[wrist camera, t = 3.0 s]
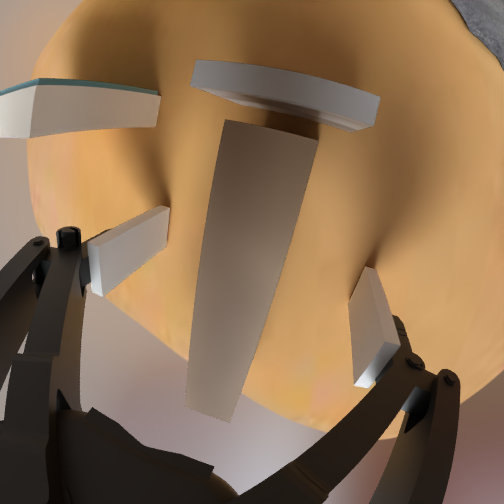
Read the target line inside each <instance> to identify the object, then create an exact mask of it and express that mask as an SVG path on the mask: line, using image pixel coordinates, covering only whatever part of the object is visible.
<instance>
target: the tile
mask: <svg viewBox="0 0 504 504" xmlns="http://www.w3.org/2000/svg"><path fill="white" fill-rule="evenodd" d="M161 97H162V96H158V91H155V90H150V89H145V88H139V87H133V86H127V85H120V84H113V83H105V82H97V81H87V80H74V79H55V78H38V79H35V80H31V81H28V82H25V83H22V84H19V85H16V86H13V87H10V88H8V89H5V90H2V91H0V138H34V137H40V136H46V135H53V134H60V133H67V132H76V131H86V130H97V129H112V128H136V127H156V123H157V118H158V112H159V107H160V102H161Z"/></svg>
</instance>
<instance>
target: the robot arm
mask: <svg viewBox="0 0 504 504" xmlns="http://www.w3.org/2000/svg"><path fill="white" fill-rule="evenodd" d="M169 214H170V208H169V207H165V206H162V205H159V206H157V207H155V208H153V209H151V210H149V211H147V212H144V213H142V214H140V215H138V216H136V217H134V218H132V219H130V220H128V221H126V222H124V223H122V224H120V225H119V226H117V227H115V228H112V229H108V230H105V231H103V232H101V233H100V234H98V235H96V236H95V237H92V238H90V239H88V240H87V241H85V242H83V243H81V230H80V229H79V228H77V227H72V226H69V227H64V228H61V229H59V230H58V231H57V232H56V236H57V245H58V248H53V247H50V242H49V239H48V238H47V237H41V236H39V237H35V238H33V239H31V240H30V241H29V242H28V243H27V244H26V245H25V246H24V247H23V248H22V249H21V250H20V251H19V252H18V253H17V254H16V255H15V256H14V257H13V258H12V259H11V260H10V261H9V262H8V263H7V264H6V265H5V266H4V267H3V268H2V270H1V271H0V390H1V388H2V386H3V383H4V381H5V379H6V376H7V374H8V372H9V369H10V367H11V365H12V367H11V373H10V378H9V384H8V391H7V398H6V406H5V417H4V420H2V421H0V504H322V503H323V502H324V501H325V500H326V499H327V498H328V494H329V492H331V491H332V490H333V489H334V488H335V486H337V485H338V484H339V483H340V482H341V481H342V480H343V479H344V478H345V477H346V476H347V475H348V473H350V471H351V470H352V469H353V468H354V467H355V466H356V465H357V464H358V463H359V462H360V461H361V459H362V458H363V457H364V456H365V455H366V454H367V452H368V451H369V450H370V449H371V448H372V447H373V445H374V444H375V443H376V441H377V440H378V439H379V438H380V437H381V435H382V434H383V433H384V431H385V430H386V429H387V428H388V426H389V425H390V423H391V422H392V421H393V419H394V418H395V417H396V415H397V414H398V412H399V411H400V409H401V410H403V411H405V415H404V419H403V422H402V425H401V428H400V431H399V434H398V437H397V440H396V443H395V446H394V448H393V451H392V453H391V456H390V459H389V461H388V463H387V466H386V468H385V471H384V473H383V475H382V477H381V480H380V482H379V484H378V486H377V488H376V490H375V492H374V494H373V496H372V498H371V500H370V502H369V504H442V502H443V499H444V495H445V492H446V488H447V484H448V479H449V476H450V472H451V467H452V462H453V455H454V450H455V444H456V437H457V429H458V420H459V407H460V380H459V378H458V376H457V375H456V374H455V373H454V372H452V371H451V370H448V369H442V370H441V371H440V372H439V373H438V374H437V375H435V374H433V373H431V372H429V371H427V370H425V364H424V362H423V360H422V359H421V358H420V357H419V356H418V355H417V354H415V353H413V352H412V349H411V346H410V343H409V339H408V337H407V333H406V331H405V327H404V324H403V322H402V321H401V320H400V319H399V317H398V316H394V315H392V314H391V311H390V307H389V304H388V301H387V298H386V295H385V292H384V290H383V287H382V284H381V281H380V278H379V275H378V273H377V270H376V269H373V268H370V267H366V266H365V267H364V270H363V272H362V274H361V276H360V279H359V281H358V283H357V285H356V288H355V290H354V292H353V294H352V296H351V298H350V300H349V303H348V310H349V319H350V330H351V343H352V358H353V377H354V386H359V387H364V388H369V387H370V386H371V385H372V384H373V382H374V381H376V385H375V386H374V387H373V388H372V389H371V391H370V392H369V393H368V394H367V395H366V396H365V397H364V398H363V399H362V400H361V401H360V402H359V403H358V404H357V405H356V406H355V407H354V408H353V409H352V410H351V411H350V412H349V413H348V414H347V415H346V416H345V417H344V418H343V419H342V420H341V421H340V422H339V423H338V424H337V425H336V426H335V427H333V428H332V429H331V430H330V431H329V432H328V433H327V434H326V435H325V436H323V437H322V438H321V439H320V440H319V441H317V442H316V443H315V444H314V445H313V446H312V447H310V448H309V449H308V450H307V451H305V452H304V453H303V454H302V455H300V456H299V457H298V458H296V459H295V460H294V461H292V462H290V463H289V464H287V465H286V466H284V467H283V468H282V469H280V470H279V471H277V472H276V473H274V474H273V475H271V476H270V477H268V478H267V479H265V480H264V481H262V482H261V483H259V484H258V485H256V486H254V487H253V488H251V489H250V490H248V491H246V492H244V493H243V494H241V495H238V494H237V492H236V491H235V490H234V489H233V488H232V487H231V486H230V485H229V484H228V483H227V482H226V481H224V480H223V479H222V478H220V477H219V476H217V475H215V474H214V473H212V471H213V469H214V466H212V465H209V464H206V463H203V462H200V461H197V460H195V459H192V458H190V457H187V456H184V455H182V454H177V453H173V452H167V451H163V450H158V449H154V448H150V447H146V446H144V445H142V444H141V443H140V442H139V441H137V440H136V439H135V438H134V437H133V436H132V435H131V434H129V433H128V432H127V431H126V430H125V429H124V428H123V427H122V426H121V425H120V424H119V423H117V422H115V421H114V420H112V419H110V418H109V417H107V416H105V415H104V414H102V413H101V412H99V411H97V410H96V409H94V408H93V407H92V408H91V410H90V411H89V412H88V413H87V412H83V411H82V408H81V404H80V353H81V337H82V326H83V317H84V308H85V299H86V293H87V290H86V285H87V284H89V283H90V282H91V287H92V292H94V293H95V294H97V295H99V296H101V297H104V296H105V295H106V294H107V293H109V292H110V291H111V290H112V289H114V288H115V287H116V286H117V285H118V284H120V283H121V282H122V281H123V280H125V279H126V278H127V277H128V276H130V275H131V274H132V273H133V272H135V271H136V270H137V269H138V268H140V267H141V266H142V265H143V264H145V263H146V262H147V261H149V260H150V259H151V258H152V257H154V256H155V255H156V254H158V253H159V252H160V251H162V250H163V249H164V248H166V246H167V234H168V224H169ZM32 274H33V276H34V279H33V280H32ZM28 331H29V332H28ZM27 333H28V336H27V340H26V344H25V349H24V353H23V354H19V353H17V352H18V350H19V348H20V346H21V344H22V342H23V341H24V339H25V337H26V335H27Z"/></svg>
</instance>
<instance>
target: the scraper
mask: <svg viewBox="0 0 504 504" xmlns="http://www.w3.org/2000/svg"><path fill="white" fill-rule="evenodd" d="M190 86H191V87H194V88H197V89H200V90H203V91H206V92H208V93H211V94H214V95H216V96H219V97H222V98H224V99H227V100H229V101H232V102H234V103H237V104H239V105H244V106H250V107H255V108H260V109H265V110H270V111H275V112H279V113H284V114H288V115H292V116H296V117H300V118H304V119H308V120H312V121H315V122H319V123H322V124H326V125H329V126H333V127H336V128H339V129H342V130H345V131H348V132H354V131H358V130H361V129H365V128H368V127H372V126H374V123H375V119H376V115H377V111H378V106H379V102H380V97H379V96H377V95H374V94H371V93H368V92H366V91H363V90H360V89H357V88H354V87H351V86H347V85H344V84H341V83H337V82H334V81H330V80H327V79H323V78H319V77H315V76H311V75H307V74H302V73H298V72H293V71H288V70H283V69H278V68H272V67H266V66H259V65H252V64H244V63H235V62H225V61H212V60H196V63H195V67H194V71H193V75H192V79H191V83H190ZM318 142H319V141H317V140H314V139H310V138H307V137H303V136H299V135H296V134H292V133H288V132H284V131H280V130H275V129H271V128H267V127H262V126H257V125H253V124H248V123H243V122H237V121H232V120H226V119H225V122H224V127H223V131H222V136H221V141H220V146H219V151H218V156H217V161H216V166H215V172H214V177H213V183H212V188H211V194H210V200H209V205H208V211H207V218H206V224H205V230H204V236H203V243H202V250H201V257H200V264H199V271H198V279H197V286H196V294H195V303H194V311H193V320H192V329H191V339H190V350H189V361H188V373H187V386H186V401H185V407H188V408H191V409H193V410H195V411H198V412H200V413H203V414H206V415H208V416H211V417H214V418H217V419H220V420H222V421H225V422H228V423H230V421H231V417H232V415H233V413H234V410H235V407H236V404H237V402H238V399H239V396H240V393H241V391H242V388H243V385H244V382H245V380H246V377H247V374H248V371H249V368H250V365H251V363H252V360H253V357H254V354H255V351H256V348H257V345H258V342H259V339H260V336H261V333H262V330H263V327H264V324H265V321H266V318H267V315H268V312H269V309H270V306H271V303H272V300H273V297H274V294H275V291H276V287H277V284H278V281H279V278H280V275H281V271H282V268H283V265H284V262H285V259H286V255H287V252H288V249H289V245H290V242H291V239H292V235H293V232H294V229H295V225H296V222H297V218H298V215H299V211H300V208H301V204H302V201H303V197H304V194H305V190H306V187H307V183H308V179H309V176H310V172H311V168H312V165H313V161H314V157H315V154H316V150H317V146H318Z"/></svg>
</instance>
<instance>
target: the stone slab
mask: <svg viewBox="0 0 504 504" xmlns="http://www.w3.org/2000/svg"><path fill="white" fill-rule="evenodd" d="M451 1H452V2H453V4H454V5H455V6H456V8H457V9H458V10H459V12H460V13H461V14H462V16H463V18H464V20H465V21H466V23H467V26H468V28H469V30H470V32H471V33H472V34H473V35H475V36H476V37H477V38H478V39H479V40H480V41H482V42H483V43H484V45H485V46H486V47H487V48H488V49H489V50H490V51H491V52H492V53H493V54H494V55H495V56H496V57H497V58H498V59H499V61H500V63H501V66H502V68H503V71H504V0H451Z"/></svg>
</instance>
